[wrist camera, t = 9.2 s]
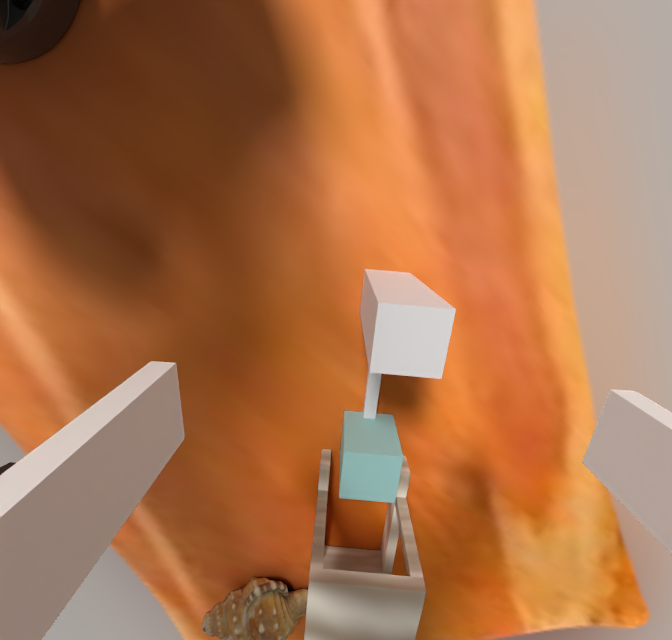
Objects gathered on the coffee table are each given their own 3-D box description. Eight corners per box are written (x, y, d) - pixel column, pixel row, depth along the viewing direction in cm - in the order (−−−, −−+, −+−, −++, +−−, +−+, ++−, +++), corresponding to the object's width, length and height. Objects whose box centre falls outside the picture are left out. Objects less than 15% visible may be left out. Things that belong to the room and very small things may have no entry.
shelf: (321, 448, 33) (311, 552, 23) (405, 456, 33) (433, 563, 23) (313, 550, 38) (301, 676, 27) (387, 557, 38) (403, 685, 27)
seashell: (261, 587, 45) (201, 661, 36) (259, 536, 44) (196, 600, 35) (315, 621, 40) (261, 715, 32) (314, 565, 39) (257, 648, 31)
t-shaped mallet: (359, 268, 28) (368, 301, 16) (415, 273, 28) (465, 310, 16) (339, 450, 33) (336, 570, 22) (386, 454, 33) (407, 576, 22)
